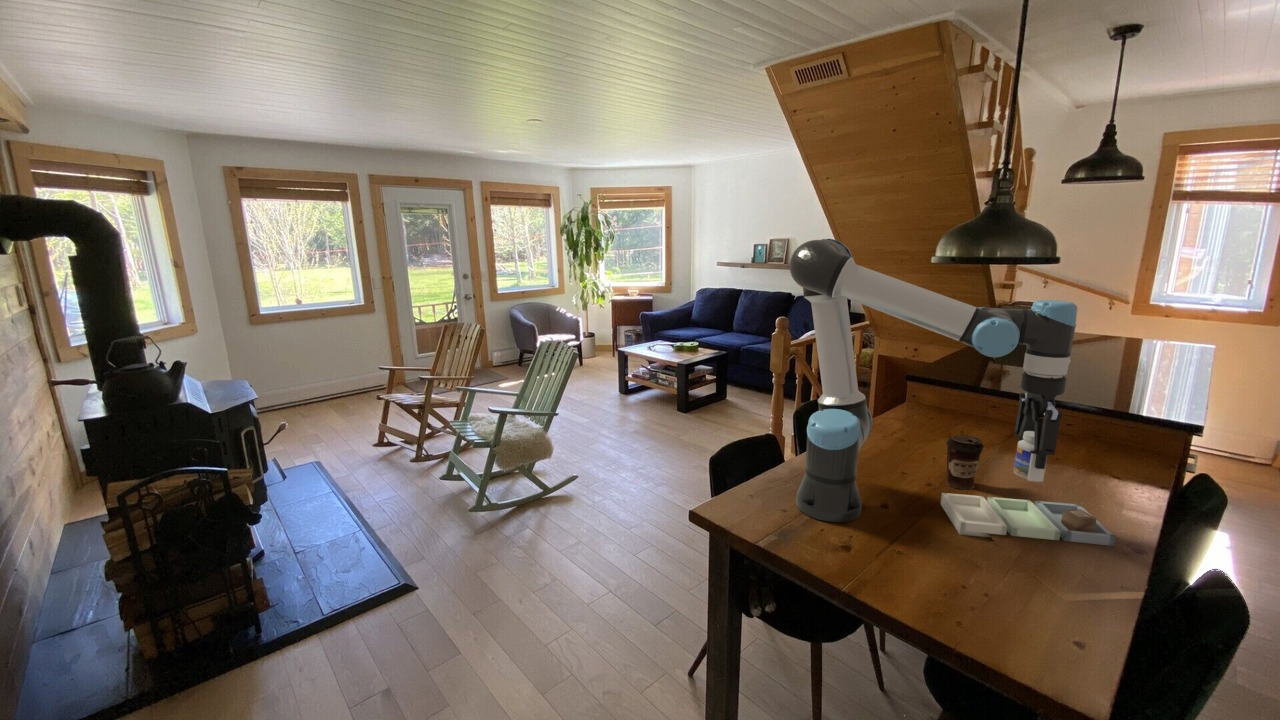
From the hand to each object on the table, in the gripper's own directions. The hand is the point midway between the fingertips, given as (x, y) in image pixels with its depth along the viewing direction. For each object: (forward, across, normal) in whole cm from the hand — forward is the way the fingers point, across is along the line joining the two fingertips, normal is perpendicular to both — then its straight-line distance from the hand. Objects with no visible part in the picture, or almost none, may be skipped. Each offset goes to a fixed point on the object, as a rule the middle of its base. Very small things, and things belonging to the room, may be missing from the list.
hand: (1028, 474), depth 118 cm
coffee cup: (+13, +19, +7) cm, 24 cm away
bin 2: (+13, 0, -10) cm, 16 cm away
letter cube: (+12, -2, -10) cm, 15 cm away
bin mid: (+13, 0, 0) cm, 13 cm away
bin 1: (+13, 0, +10) cm, 16 cm away
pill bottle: (0, 0, 0) cm, 0 cm away
